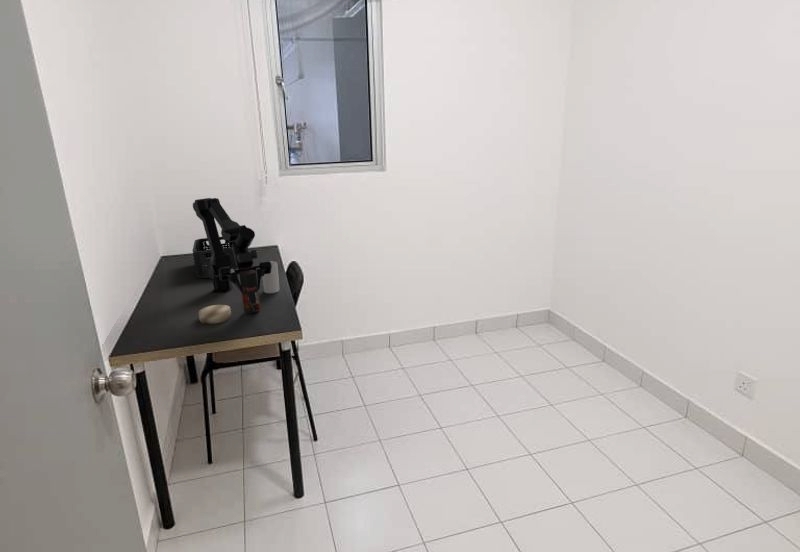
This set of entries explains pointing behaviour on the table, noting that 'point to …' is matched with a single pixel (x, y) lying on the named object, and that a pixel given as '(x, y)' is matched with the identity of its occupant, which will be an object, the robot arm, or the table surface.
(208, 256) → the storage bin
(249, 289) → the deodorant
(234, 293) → the table surface
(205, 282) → the table surface
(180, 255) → the table surface
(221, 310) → the beige round flatbread
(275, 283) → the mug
